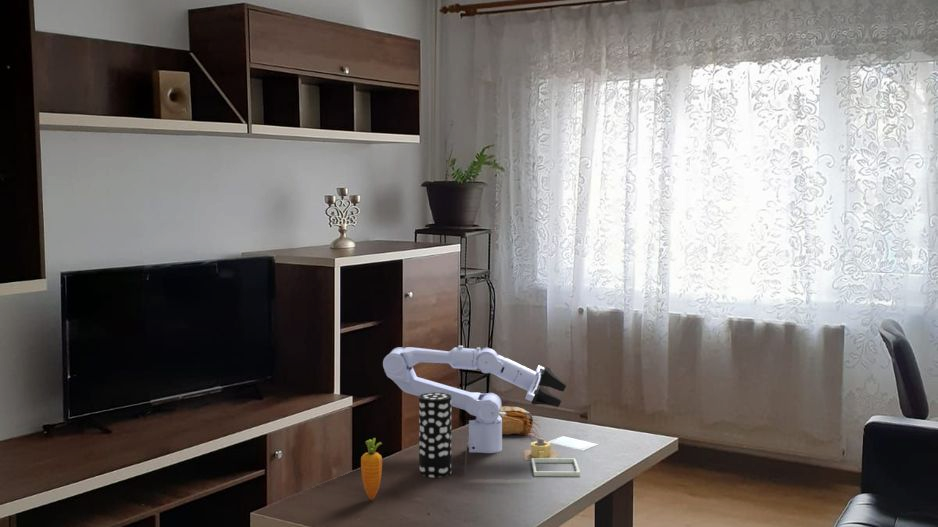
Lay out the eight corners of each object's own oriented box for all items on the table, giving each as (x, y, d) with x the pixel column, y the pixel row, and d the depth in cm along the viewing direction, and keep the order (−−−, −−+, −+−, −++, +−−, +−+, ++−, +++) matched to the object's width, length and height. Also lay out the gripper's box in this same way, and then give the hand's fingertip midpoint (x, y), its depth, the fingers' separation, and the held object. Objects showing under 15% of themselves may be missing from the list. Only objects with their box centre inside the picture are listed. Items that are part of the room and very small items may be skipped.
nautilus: (555, 441, 270) (515, 452, 262) (509, 420, 288) (470, 431, 279) (555, 415, 269) (515, 425, 260) (509, 396, 286) (470, 405, 277)
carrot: (371, 495, 223) (371, 433, 221) (386, 499, 220) (386, 437, 218) (356, 500, 219) (356, 438, 217) (371, 505, 216) (371, 442, 214)
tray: (534, 478, 235) (534, 471, 235) (531, 464, 247) (531, 458, 246) (580, 479, 235) (580, 472, 235) (575, 464, 246) (575, 458, 246)
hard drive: (546, 441, 264) (583, 449, 256) (563, 435, 271) (599, 443, 262) (546, 447, 265) (583, 455, 256) (563, 441, 271) (599, 449, 263)
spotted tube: (447, 478, 235) (447, 400, 233) (415, 476, 237) (415, 399, 235) (454, 468, 243) (454, 393, 241) (423, 466, 245) (423, 391, 243)
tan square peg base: (524, 462, 248) (524, 443, 248) (523, 452, 257) (523, 434, 257) (558, 462, 248) (558, 443, 248) (555, 452, 257) (555, 434, 257)
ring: (531, 459, 248) (531, 448, 248) (530, 451, 255) (530, 441, 255) (551, 459, 248) (551, 448, 248) (549, 452, 255) (549, 441, 255)
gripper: (516, 377, 247) (563, 400, 246) (528, 350, 259) (572, 371, 258) (507, 397, 250) (553, 419, 249) (519, 368, 263) (562, 389, 262)
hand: (562, 395), depth 254 cm, fingers open, 7 cm apart
